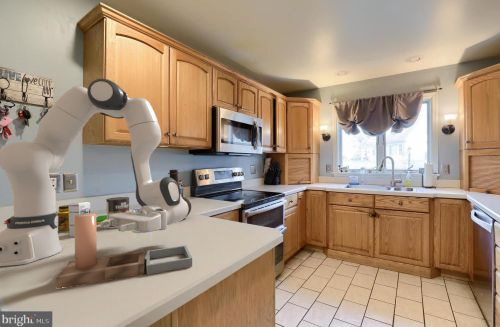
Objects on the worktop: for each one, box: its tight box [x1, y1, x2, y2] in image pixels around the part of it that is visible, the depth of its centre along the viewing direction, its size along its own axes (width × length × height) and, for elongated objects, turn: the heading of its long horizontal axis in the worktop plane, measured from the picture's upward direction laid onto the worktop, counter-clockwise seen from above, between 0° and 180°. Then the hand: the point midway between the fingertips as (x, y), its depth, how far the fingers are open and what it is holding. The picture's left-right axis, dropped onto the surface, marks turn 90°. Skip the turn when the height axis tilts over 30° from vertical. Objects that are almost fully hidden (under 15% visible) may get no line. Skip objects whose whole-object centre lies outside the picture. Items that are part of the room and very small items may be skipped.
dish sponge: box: [96, 214, 107, 225], centre depth 133 cm, size 7×14×2 cm, turn 10°
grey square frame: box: [146, 244, 193, 275], centre depth 75 cm, size 13×13×2 cm
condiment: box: [57, 204, 70, 234], centre depth 115 cm, size 7×8×12 cm
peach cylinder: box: [74, 212, 98, 269], centre depth 67 cm, size 5×5×14 cm
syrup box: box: [68, 201, 91, 238], centre depth 107 cm, size 6×6×14 cm
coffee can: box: [105, 196, 130, 229], centre depth 122 cm, size 10×10×14 cm
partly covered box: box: [55, 250, 146, 289], centre depth 69 cm, size 20×11×3 cm, turn 113°
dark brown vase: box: [167, 169, 192, 218], centre depth 136 cm, size 18×18×28 cm
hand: (110, 226), depth 73 cm, fingers open, 8 cm apart
